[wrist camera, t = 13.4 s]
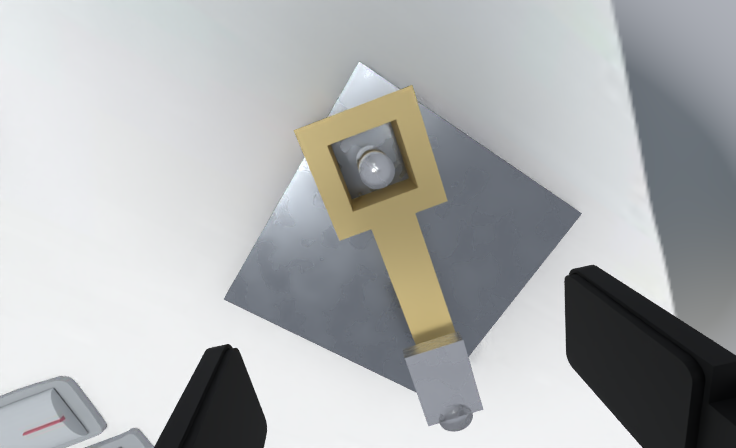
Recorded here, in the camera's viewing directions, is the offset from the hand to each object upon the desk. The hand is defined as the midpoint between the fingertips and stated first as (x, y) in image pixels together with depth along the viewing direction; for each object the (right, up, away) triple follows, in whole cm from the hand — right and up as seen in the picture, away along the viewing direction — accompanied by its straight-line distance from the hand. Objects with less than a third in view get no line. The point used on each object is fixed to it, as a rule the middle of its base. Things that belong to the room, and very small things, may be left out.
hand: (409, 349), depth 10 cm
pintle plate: (+1, +1, +19) cm, 19 cm away
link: (+1, +3, +17) cm, 17 cm away
